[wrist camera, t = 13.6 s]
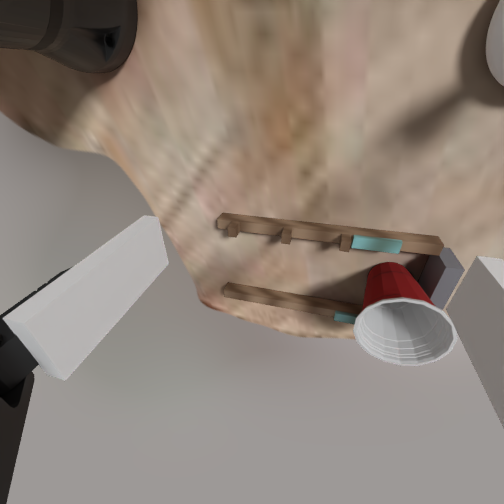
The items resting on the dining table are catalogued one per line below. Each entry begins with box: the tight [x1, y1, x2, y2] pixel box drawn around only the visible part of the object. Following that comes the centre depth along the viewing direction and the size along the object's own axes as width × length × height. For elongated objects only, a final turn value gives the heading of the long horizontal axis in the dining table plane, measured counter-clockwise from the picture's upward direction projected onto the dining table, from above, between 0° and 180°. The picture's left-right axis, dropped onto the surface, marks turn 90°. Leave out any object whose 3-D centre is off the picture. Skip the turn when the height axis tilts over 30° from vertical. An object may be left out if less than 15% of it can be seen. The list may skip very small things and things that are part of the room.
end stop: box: [418, 248, 465, 310], centre depth 37 cm, size 2×13×5 cm, turn 1°
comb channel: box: [217, 213, 444, 324], centre depth 41 cm, size 31×16×4 cm, turn 91°
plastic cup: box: [353, 262, 457, 366], centre depth 35 cm, size 11×11×12 cm
